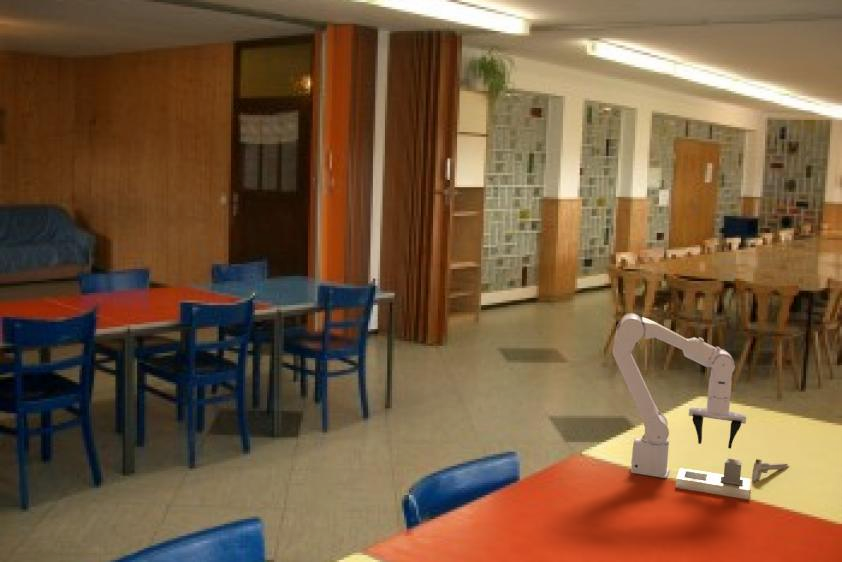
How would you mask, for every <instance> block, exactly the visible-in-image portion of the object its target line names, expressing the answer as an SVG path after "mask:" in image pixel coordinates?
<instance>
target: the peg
mask: <svg viewBox="0 0 842 562" xmlns="http://www.w3.org/2000/svg"><path fill="white" fill-rule="evenodd" d="M742 461H743V460H740V459H734V458H725V460H724V469H723V470H724V471H723V475H724V479H723V484H729V485H735V486H740V477H741V473H742Z"/></svg>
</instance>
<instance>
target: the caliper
mask: <svg viewBox="0 0 842 562" xmlns="http://www.w3.org/2000/svg"><path fill="white" fill-rule="evenodd" d="M752 468H753V469H752V474H751V481H752V482H754V483H757V482H759V481H760V480H761V477H762V474H768V471H774V470H775V471H776V470H785V469H787V468H790V465H788V463H786V462H780V463H779V462H778V463H768V462H763V461H762V459H759V458H758V459H755V462H754V464H753V467H752Z"/></svg>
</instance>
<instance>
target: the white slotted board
mask: <svg viewBox="0 0 842 562" xmlns="http://www.w3.org/2000/svg"><path fill="white" fill-rule="evenodd" d="M723 479H724V474H722V473H721V474H720V473H714V472H709V471H702V470H696V469H689V468H682V467H680V468H679V470H678V473H677V476H676V479H675V489H676V488H677V489H680V490H681V489H682V490H688V491H694V492H695V491H696V492H700V493H706V494H712V495H720V496H725V497H731V498H737V499H743V500H744V499H745V500H749V499H750V489H751V481H752V478H747V477H741V476H740V486H735V485H729V484H723Z"/></svg>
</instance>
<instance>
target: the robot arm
mask: <svg viewBox="0 0 842 562" xmlns="http://www.w3.org/2000/svg"><path fill="white" fill-rule="evenodd" d="M614 335H615V336H614V340H613V346H612V356H613V358H614V360H615V362H616V364H617V367H618V369H619V371H620V373H621V375H622V377H623V379H624V382H625V383H626V386H627V387H628V390H629V393H630V395H631V397H632V398H633V401H634V403H635V406H636V408H637V410H638V412H639V415H640V417H641V420H642V423H643V425H644V434H643V435H641V437H635V438H634V440H633V444H632V445H633V446H632V452H631V453H632V454H631V467H630V473H631V474H637V475H643V476H650V477H656V478H662V479H667V477H668V474H669V473H670V468H669V467H668V458H669V445H670V440H669V435H670V430H669V428H668V420H667V418H666V416H664V414H662V413H661V411H659V409H658V407H657V405H656V404H655V402H654V399H653V397H652V395H651V393H650V391H649V389H648V386H647V384H646V382H645V379H644V378H643V376H642V373H641V371H640V369H639V367H638V365H637V363H636V360H635V357H634V356H633V354H632V351H633V349H634V347H635V345H636V343H638V342H639V340H641V338H642V337H643V339H644V340H648V339H658V340H659V341H661V342H664V343H666V344H668V345H671V346H673V347H676V348H678V349H680V350H682V352H683V355H684V357H686V358H687V359H689V360H692V361H694V362H696V363H698V364H699V365H702V366H703V367H706V368H710V376H709V378H708V390H707V399H706V401H707V402H706V408H704V407H703V408H702V407H691V406H689V409H688V416H689V417H692V419H691V420H692V423H693V425H694V428H695V430H696V434H697V444H699V445H701V444H702V441H703V424H704V418H706V419H707V418H708V419H714V420H720V421H726V422H728V421H729V422H731V423H730V431H729V440H728V445H727V446H728V447H727V448H728V449H732V445H733V442H734V439H735V437H736V435H737V434H738V431H739V430H740V428H741V426H742V424H743V425H744V424H746V423H747V414H742V413H741V414H740V413H737V412H732V411H730V406H731V393H732V382H733V381H732V377H733V372H734V371H735V369H736V365H735V361H734V359H733V357H732V355H731V354H730V353H729V352H728V351H726V350H725V349H723V348H722V349H721V347H720V346H713V345H711V344H709V343H707V342H705V340H704V338H702V337H698V338H697V337H691V338H686V337H684V336H683V335H680V334H679V333H677V332H675V331H673V330H671V329H669V328H667V327H665V326H663V325H661V324H660V323H658V322H656V321H653V320H651V319H649V318H646V317H644V316H642V317H641V316H640V315H638V314H635V313H626V314H624V315H623V317H621V319H620V321H619V322H618V324H617V326H616V329H615V334H614Z"/></svg>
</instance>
